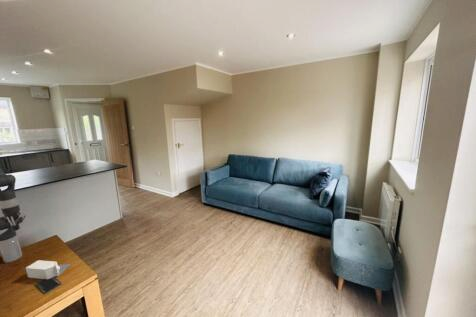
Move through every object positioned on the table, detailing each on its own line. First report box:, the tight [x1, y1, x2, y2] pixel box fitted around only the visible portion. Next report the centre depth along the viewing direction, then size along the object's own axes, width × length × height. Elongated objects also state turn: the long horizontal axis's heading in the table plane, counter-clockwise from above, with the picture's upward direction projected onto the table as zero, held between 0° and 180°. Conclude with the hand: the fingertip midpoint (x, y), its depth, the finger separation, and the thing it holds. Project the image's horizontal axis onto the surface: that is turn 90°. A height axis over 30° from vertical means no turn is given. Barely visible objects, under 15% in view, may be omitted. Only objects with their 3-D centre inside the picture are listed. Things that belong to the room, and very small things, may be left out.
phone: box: [35, 276, 62, 294], centre depth 118 cm, size 8×1×15 cm
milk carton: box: [25, 259, 60, 280], centre depth 125 cm, size 7×7×19 cm
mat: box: [57, 263, 72, 276], centre depth 130 cm, size 16×10×1 cm, turn 95°
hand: (16, 229), depth 128 cm, fingers closed
